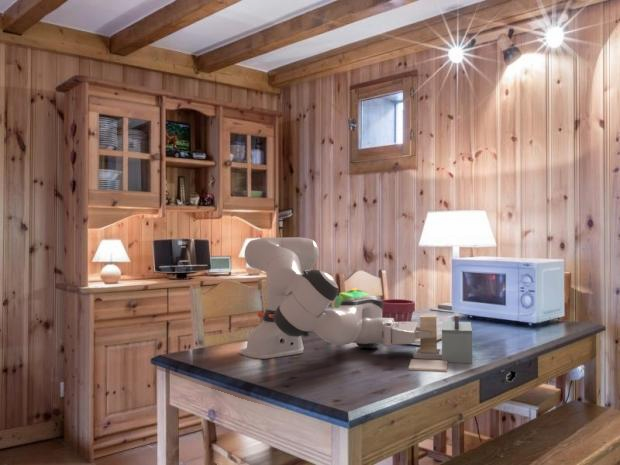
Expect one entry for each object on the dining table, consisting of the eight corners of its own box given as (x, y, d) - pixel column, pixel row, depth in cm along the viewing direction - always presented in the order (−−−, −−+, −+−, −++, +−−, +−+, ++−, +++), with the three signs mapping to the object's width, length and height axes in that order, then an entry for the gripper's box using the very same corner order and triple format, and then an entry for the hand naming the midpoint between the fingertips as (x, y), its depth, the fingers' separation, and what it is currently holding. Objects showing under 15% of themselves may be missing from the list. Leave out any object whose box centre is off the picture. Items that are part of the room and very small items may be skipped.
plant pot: (416, 330, 227) (416, 299, 227) (413, 337, 214) (413, 303, 214) (381, 329, 231) (381, 298, 231) (376, 336, 218) (375, 303, 218)
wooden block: (436, 357, 181) (435, 317, 181) (420, 356, 182) (419, 316, 182) (436, 354, 185) (436, 314, 185) (421, 353, 187) (420, 314, 187)
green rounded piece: (372, 317, 262) (371, 286, 261) (377, 323, 245) (377, 290, 245) (333, 318, 261) (332, 286, 261) (336, 324, 244) (335, 290, 244)
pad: (446, 371, 163) (446, 369, 163) (408, 369, 166) (408, 367, 166) (447, 362, 174) (447, 360, 174) (411, 361, 177) (411, 359, 177)
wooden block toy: (472, 363, 173) (471, 317, 172) (412, 360, 177) (412, 316, 177) (471, 351, 188) (470, 310, 188) (416, 349, 193) (415, 308, 192)
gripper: (391, 334, 197) (432, 336, 194) (384, 347, 177) (429, 348, 174) (391, 316, 197) (432, 317, 193) (384, 327, 177) (429, 328, 174)
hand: (431, 332), depth 183 cm, fingers closed on wooden block, 5 cm apart
